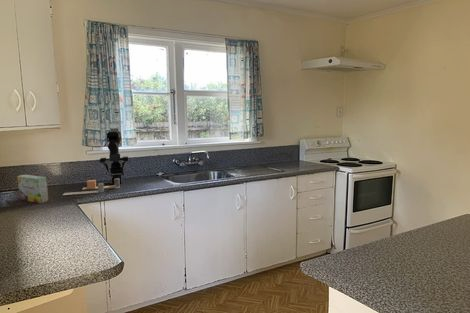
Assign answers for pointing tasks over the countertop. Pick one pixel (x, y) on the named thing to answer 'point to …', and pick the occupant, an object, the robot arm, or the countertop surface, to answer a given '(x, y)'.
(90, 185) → the terracotta block
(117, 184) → the beige rectangular bar
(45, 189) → the snack box
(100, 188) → the white long bar
